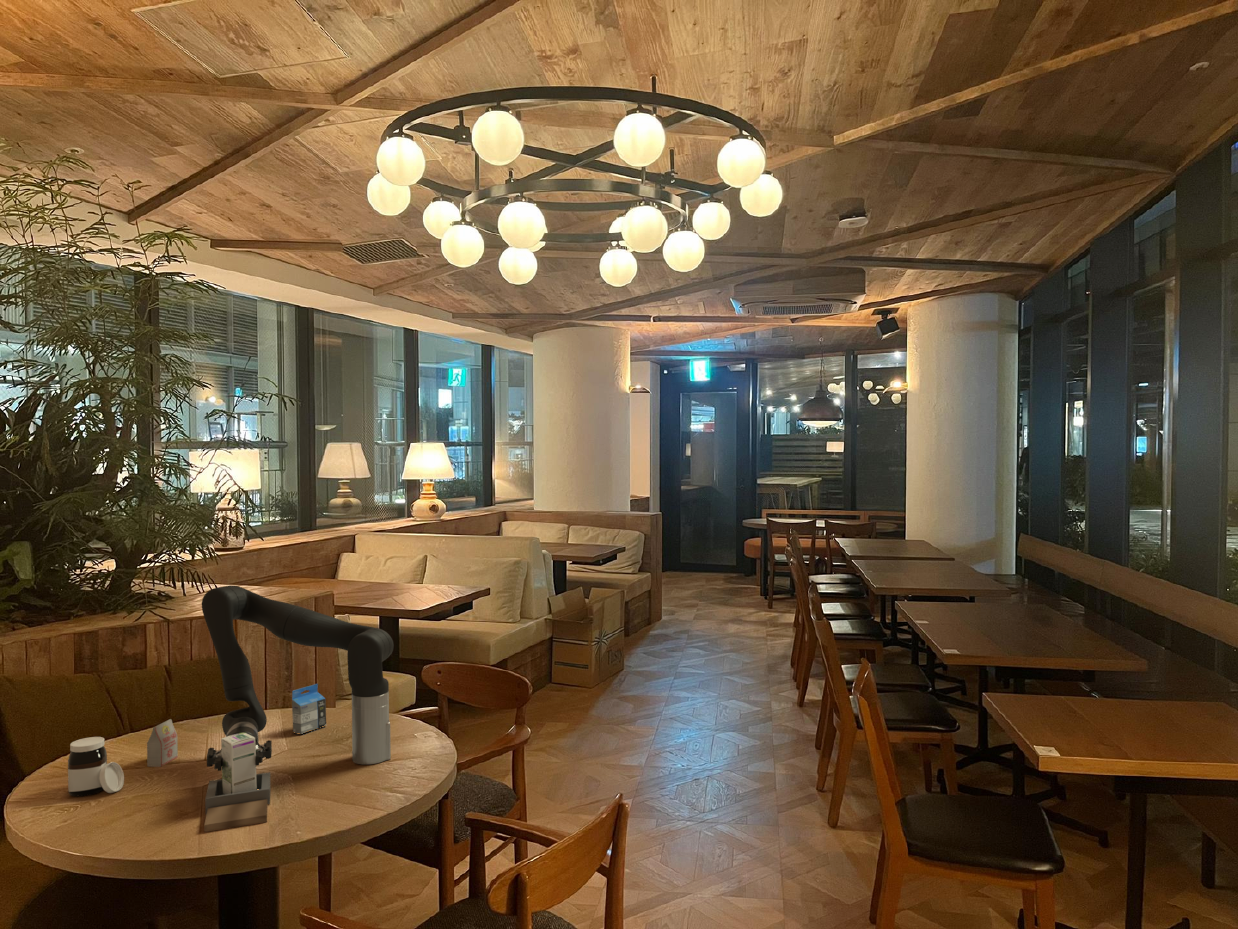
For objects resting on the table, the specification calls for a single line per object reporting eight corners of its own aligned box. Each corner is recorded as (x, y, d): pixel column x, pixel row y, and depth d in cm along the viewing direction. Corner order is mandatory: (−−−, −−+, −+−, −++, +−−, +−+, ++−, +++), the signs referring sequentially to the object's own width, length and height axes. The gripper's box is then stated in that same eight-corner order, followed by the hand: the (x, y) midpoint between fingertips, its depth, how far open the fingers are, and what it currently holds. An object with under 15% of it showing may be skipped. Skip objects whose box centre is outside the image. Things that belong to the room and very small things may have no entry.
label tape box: (301, 736, 231) (300, 692, 231) (291, 733, 233) (291, 690, 233) (326, 727, 238) (326, 685, 238) (317, 725, 240) (317, 683, 240)
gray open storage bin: (270, 786, 194) (270, 772, 194) (269, 804, 184) (269, 789, 184) (209, 795, 189) (209, 780, 189) (205, 814, 179) (205, 798, 179)
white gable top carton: (147, 766, 208) (146, 727, 208) (164, 757, 215) (163, 719, 215) (160, 766, 208) (160, 727, 208) (177, 757, 215) (177, 719, 215)
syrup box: (257, 799, 187) (257, 736, 187) (231, 807, 183) (230, 743, 183) (246, 793, 191) (246, 731, 191) (220, 801, 186) (220, 737, 186)
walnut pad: (267, 805, 183) (267, 799, 183) (266, 822, 175) (266, 815, 175) (207, 815, 179) (207, 808, 179) (204, 832, 171) (204, 825, 171)
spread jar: (71, 786, 196) (70, 738, 196) (126, 777, 201) (125, 730, 201) (64, 805, 185) (63, 753, 185) (122, 795, 190) (121, 745, 190)
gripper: (208, 730, 197) (202, 752, 182) (273, 722, 203) (272, 743, 187) (209, 761, 197) (203, 785, 182) (273, 752, 203) (273, 775, 187)
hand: (238, 764), depth 185 cm, fingers closed on syrup box, 7 cm apart
